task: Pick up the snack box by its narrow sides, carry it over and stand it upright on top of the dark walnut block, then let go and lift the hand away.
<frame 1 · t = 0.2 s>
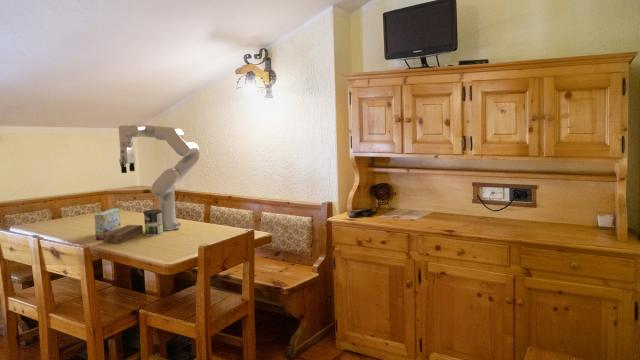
hand: (128, 172, 287), 36 cm above the table, tool pointing down, fingers open, 9 cm apart
coffee can: (154, 234, 276), on the table
walnut block: (124, 238, 267), on the table
snack box: (109, 236, 274), on the table
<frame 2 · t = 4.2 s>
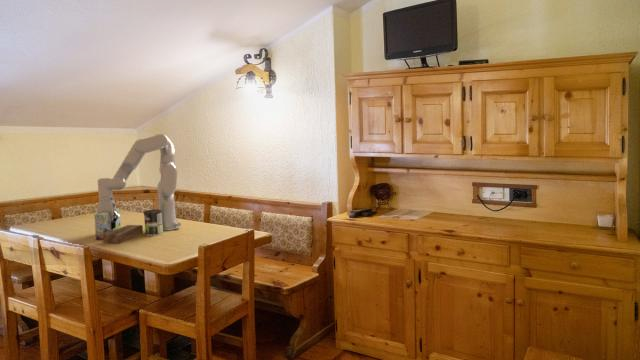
hand: (108, 228, 273), 5 cm above the table, tool pointing down, fingers closed on snack box, 6 cm apart
snack box: (109, 236, 274), on the table, touching gripper
everything else where it was.
when the fingers open (11 cm above the table, at t = 10.4 s): snack box drops 1 cm, resting on walnut block.
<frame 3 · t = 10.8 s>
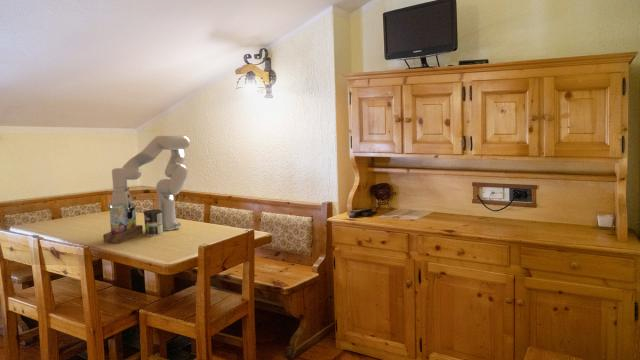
hand: (122, 218, 265), 12 cm above the table, tool pointing down, fingers open, 9 cm apart
snack box: (124, 230, 266), point 5 cm above the table, touching walnut block
everything else where it was.
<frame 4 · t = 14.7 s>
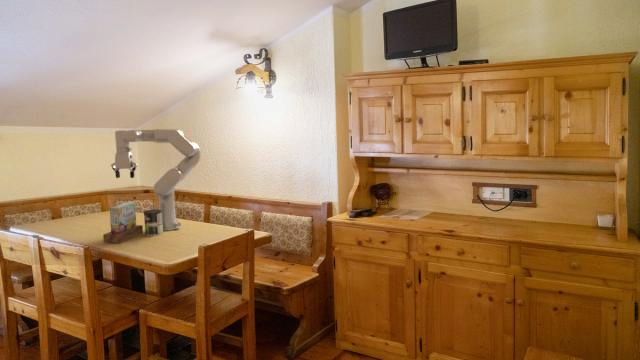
hand: (125, 177, 284), 33 cm above the table, tool pointing down, fingers open, 9 cm apart
nothing on the table moved.
at the end: snack box 0.5 cm off-centre on the walnut block, point 4.8 cm above the walnut block's base; snack box tilted 0°; snack box touching walnut block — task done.
